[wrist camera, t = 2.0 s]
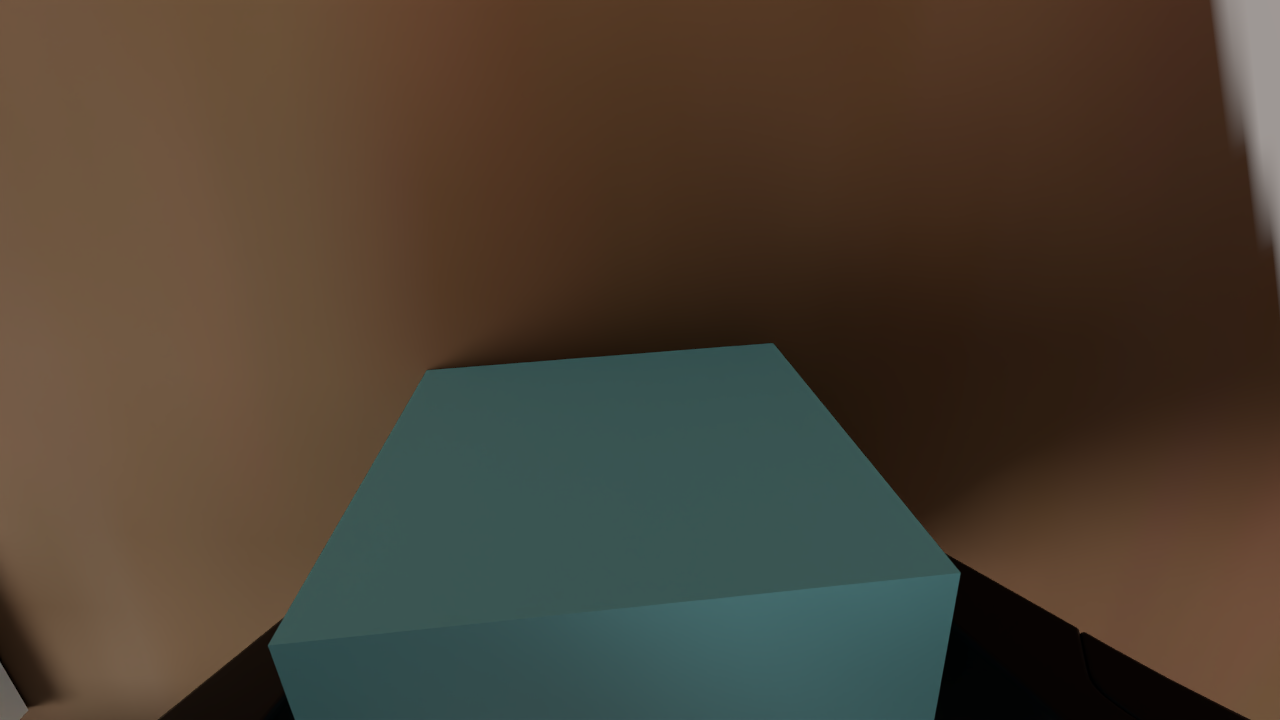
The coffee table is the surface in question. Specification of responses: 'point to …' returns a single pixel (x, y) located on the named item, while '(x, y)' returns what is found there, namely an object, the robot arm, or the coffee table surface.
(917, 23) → the coffee table surface
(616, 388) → the teal block
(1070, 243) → the coffee table surface
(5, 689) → the tile
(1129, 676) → the robot arm
